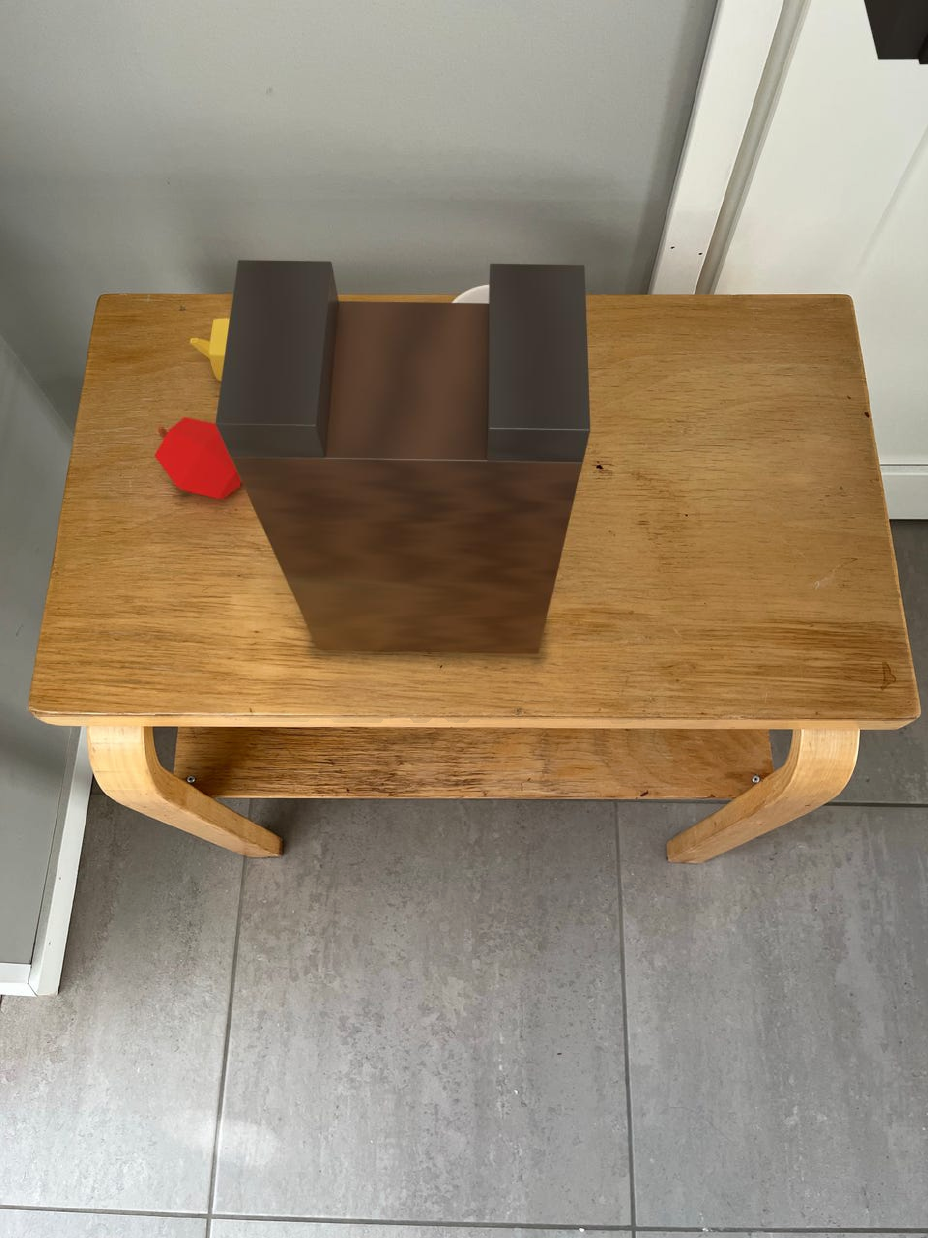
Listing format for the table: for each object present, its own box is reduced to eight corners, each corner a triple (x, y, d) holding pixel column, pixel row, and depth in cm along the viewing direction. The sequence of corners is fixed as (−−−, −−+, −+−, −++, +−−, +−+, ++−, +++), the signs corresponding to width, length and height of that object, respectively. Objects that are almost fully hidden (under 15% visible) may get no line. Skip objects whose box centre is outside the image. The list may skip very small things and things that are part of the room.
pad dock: (537, 543, 78) (584, 264, 47) (538, 654, 74) (590, 430, 44) (326, 539, 78) (237, 258, 47) (317, 650, 75) (214, 424, 44)
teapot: (197, 399, 83) (181, 363, 78) (205, 346, 85) (189, 309, 80) (285, 400, 83) (274, 365, 78) (290, 348, 85) (280, 310, 80)
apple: (263, 444, 75) (179, 386, 74) (215, 512, 74) (130, 454, 73) (264, 459, 82) (187, 405, 81) (220, 521, 81) (142, 468, 80)
